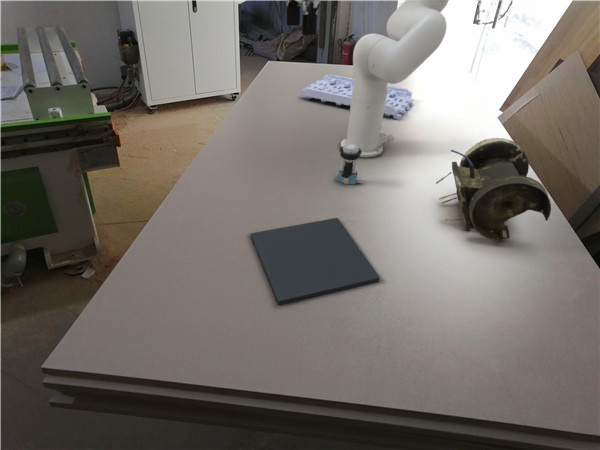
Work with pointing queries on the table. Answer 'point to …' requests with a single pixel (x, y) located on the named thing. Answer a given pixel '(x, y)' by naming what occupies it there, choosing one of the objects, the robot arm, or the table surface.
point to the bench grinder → (496, 187)
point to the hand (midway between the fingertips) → (300, 29)
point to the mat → (311, 260)
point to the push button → (349, 164)
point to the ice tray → (341, 93)
